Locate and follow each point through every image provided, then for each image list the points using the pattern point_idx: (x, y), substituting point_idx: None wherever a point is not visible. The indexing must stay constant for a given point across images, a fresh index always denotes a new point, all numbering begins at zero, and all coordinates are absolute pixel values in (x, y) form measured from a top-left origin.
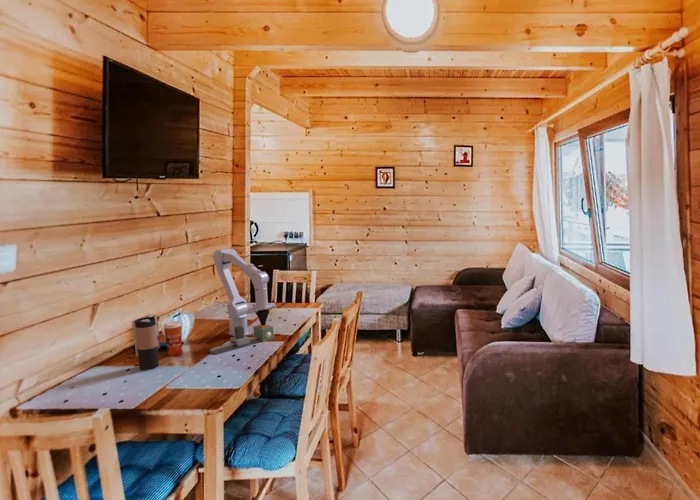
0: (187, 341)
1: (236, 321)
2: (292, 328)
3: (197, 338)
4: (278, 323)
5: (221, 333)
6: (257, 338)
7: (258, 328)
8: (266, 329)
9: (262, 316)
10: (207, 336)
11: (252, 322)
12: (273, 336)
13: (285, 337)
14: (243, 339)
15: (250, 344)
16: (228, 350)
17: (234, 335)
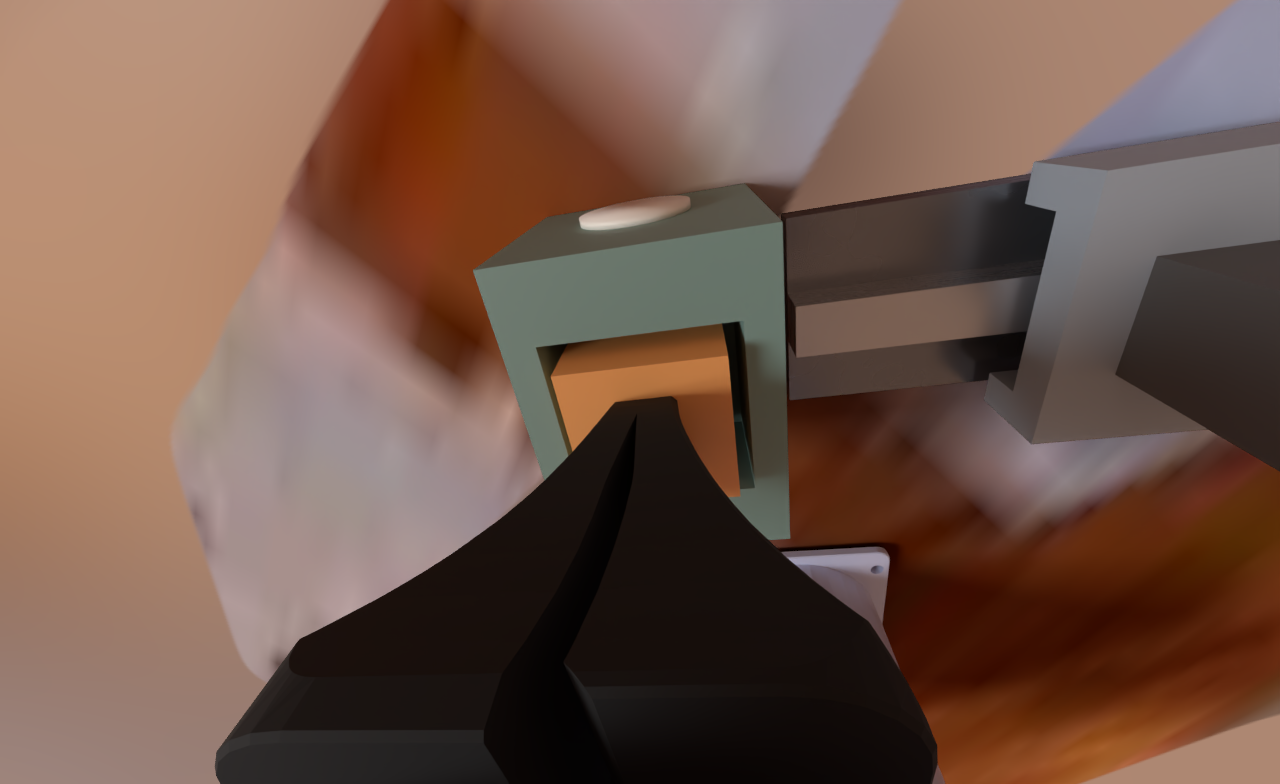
0: (1250, 719)
1: (937, 780)
2: (224, 440)
3: (1127, 727)
4: None
5: None
6: (792, 296)
7: (785, 382)
8: (664, 233)
9: (721, 541)
10: (1031, 718)
11: None
12: (541, 223)
13: (366, 138)
14: (1277, 144)
15: (977, 182)
16: None
17: (883, 600)
